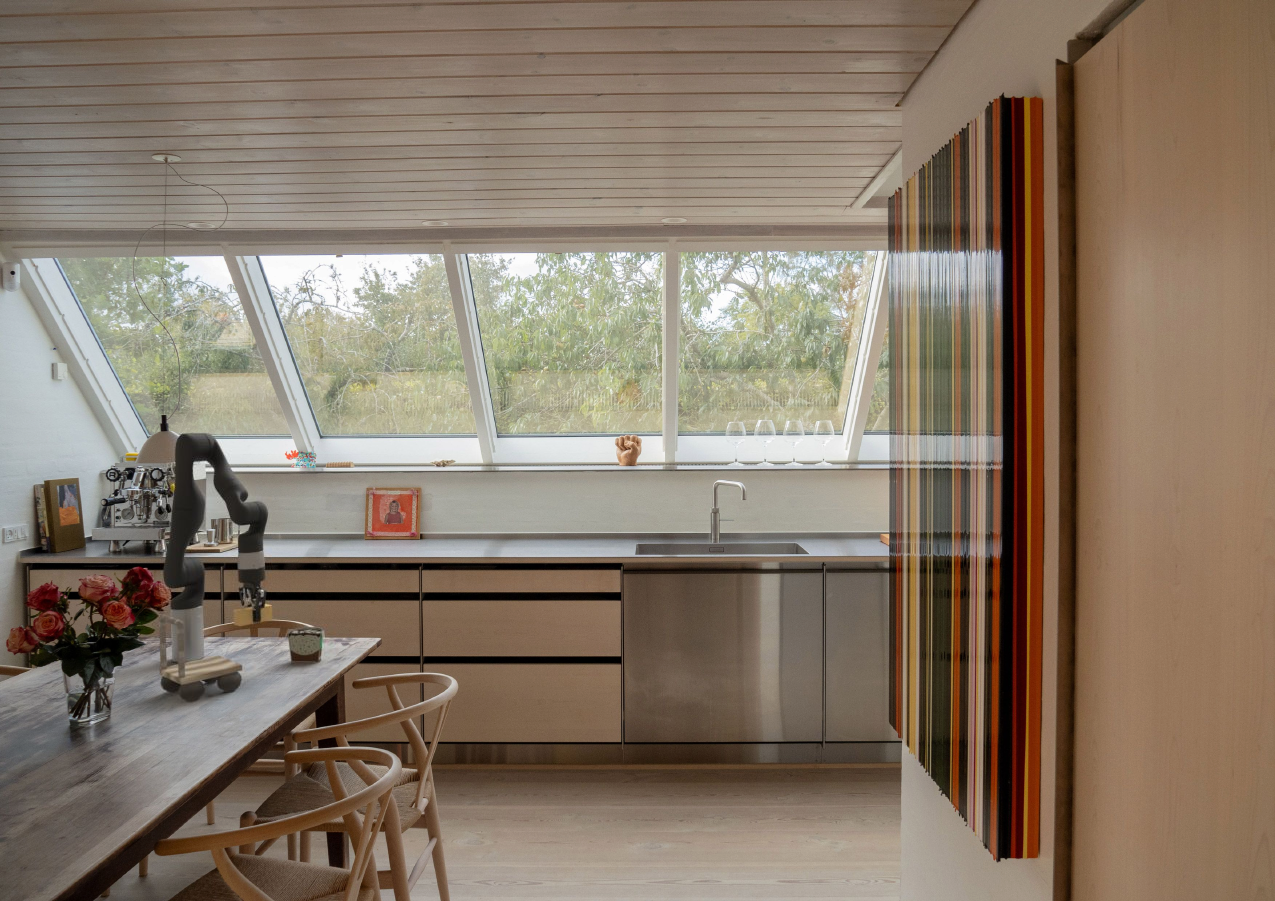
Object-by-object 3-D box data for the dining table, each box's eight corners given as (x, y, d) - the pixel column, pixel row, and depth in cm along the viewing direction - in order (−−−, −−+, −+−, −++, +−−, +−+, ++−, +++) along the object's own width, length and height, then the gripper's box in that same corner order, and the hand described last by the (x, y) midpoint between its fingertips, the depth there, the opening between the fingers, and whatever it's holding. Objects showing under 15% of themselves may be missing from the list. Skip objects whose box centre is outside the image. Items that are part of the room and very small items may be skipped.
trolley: (159, 693, 221) (156, 614, 220) (219, 678, 233) (216, 603, 233) (181, 705, 211) (179, 621, 210) (242, 689, 223) (240, 610, 223)
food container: (332, 656, 255) (331, 626, 255) (323, 662, 249) (322, 631, 249) (297, 656, 256) (296, 626, 256) (286, 661, 250) (286, 631, 250)
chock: (233, 624, 238) (233, 609, 238) (266, 617, 246) (265, 603, 245) (239, 626, 235) (239, 611, 235) (272, 619, 243) (272, 605, 243)
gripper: (228, 566, 242) (230, 620, 242) (249, 569, 233) (251, 626, 233) (253, 562, 247) (255, 615, 248) (274, 566, 239) (276, 621, 239)
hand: (253, 620), depth 240 cm, fingers closed on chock, 4 cm apart
